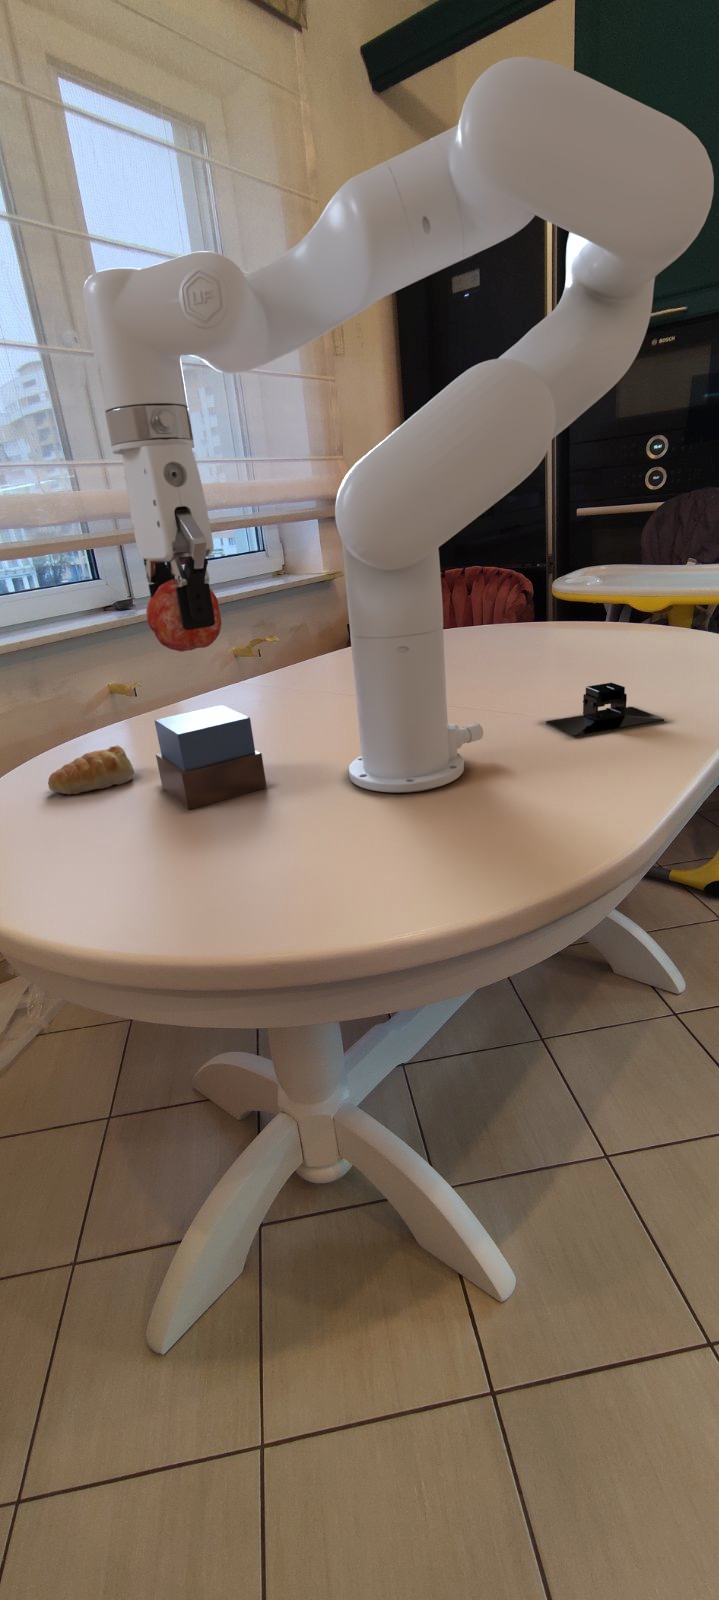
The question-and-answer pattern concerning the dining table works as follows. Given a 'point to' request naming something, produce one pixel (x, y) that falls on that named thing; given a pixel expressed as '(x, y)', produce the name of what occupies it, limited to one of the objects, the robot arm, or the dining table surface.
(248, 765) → the base block
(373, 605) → the robot arm
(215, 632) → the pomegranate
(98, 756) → the pastry
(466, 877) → the dining table surface
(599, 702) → the build plate
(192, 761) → the top block
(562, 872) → the dining table surface
